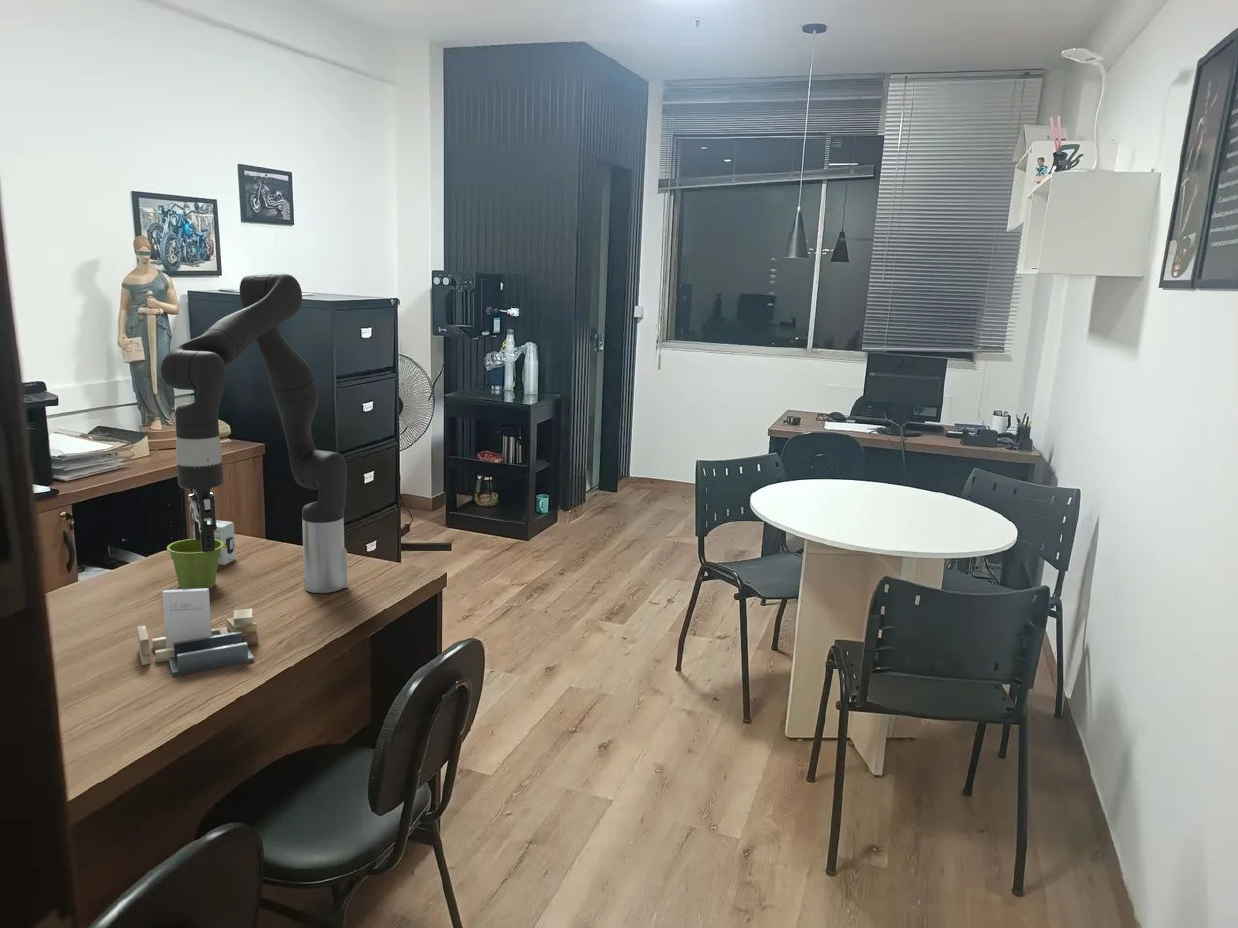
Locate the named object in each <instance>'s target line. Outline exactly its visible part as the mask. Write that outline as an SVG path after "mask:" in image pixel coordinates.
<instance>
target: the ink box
mask: <svg viewBox="0 0 1238 928" xmlns="http://www.w3.org/2000/svg"><path fill="white" fill-rule="evenodd" d="M209 524H211V523H210V521H207V525H209ZM216 526H217V528H216V530H215V531H214V539H217V540H220V541H222V542H223V543H224V545H223V547H222V548H221V552H220V556H219V560H218V565H222V566H225V565H228V564H229V563H231V562H233V561H235V560H236V543H235V541H236V539H235V538H236V537H235V523H234V522H233V521H227V520H226V521H225V520H218V519H216ZM192 530H193V532H192V533H193V539H196V538H195V531H194V524H193V525H192Z"/></svg>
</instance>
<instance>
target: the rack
mask: <svg viewBox="0 0 1238 928" xmlns="http://www.w3.org/2000/svg"><path fill="white" fill-rule="evenodd" d="M136 629H137V643H138V645H137V646H138V654H139V658H140V663H141V665H142V666H144V665H151V653H150V639H149V635H148V631H147V627H146V625H139V626H137V627H136ZM211 630H212V636H215V635H221V634H227V633H228V629H227V626H224V627H217V628H215V627H214V628H211ZM151 640H152V641H151V642H152V644H151V646H152V651H154V653H155V662H156V663H160V662H162V663H163V662H167V661H168V662H169V660H168V658H171V657H174V647H172V648H166V638H165V636H161V637H156V638H155V637H154V638H151Z"/></svg>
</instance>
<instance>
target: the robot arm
mask: <svg viewBox="0 0 1238 928" xmlns="http://www.w3.org/2000/svg"><path fill="white" fill-rule="evenodd" d="M239 299H240V303H241V305H242V309H240V310H238V311H237V310H236V311H235V312H233V313H231V314H228V315H226V316H224V317H222V318H221V319H219V320H217V321H216V322H215V323H214V324H213V325H211V326H210V327H209V328H208V329H207V330H206V331H205V332H204V333H203V334H202V335H200V336H197V337H195V338H192V339H190V340H188V341H186V342H184V343H181V344H179V345H177V346H175V347H174V348H172V349H171V350H169V352H167V354H165V356H164V358H163V360H162V361H161V364H160V375H161V378H162V380H163V382H165V384H166V385H167V386H169V387H171V388H172V389H176V390H184V391H197V395H196V397H195V400H194V401H192V402H187V403H181V404H180V405H177V407H175V408H176V409H175V413H174V419H175V420H174V421H175V434H176V442H175V443H176V445H175V456H176V471H177V484H178V487H180V488H181V489H186V490H189V495H188V501H189V511H190V514H191V518H192V520H193V525H194V531H195V538H196V540H201V550H202V551H203V552H211V551H214V550H215V539H214V531H215V530H216V528H217V526H216V520H217V519H216V518H217V513H216V497H215V495H214V494H213V492H211V489H213V488H218V487H221V486H222V485H223V483H224V469H223V468H224V467H223V453H222V452H223V449H222V443H221V438H220V427H219V425H220V424H219V411H220V405H221V402H222V396H223V392H224V388H225V384H226V381H227V368H226V367H227V366H229V365H230V364H232V363H233V362H234V361H235V360H236V359H238V358H239V356H240V355H241V354H242V353H243V352H244V351H245V350H246V349H247V348H248V347H249V346H250V345H251V344H253V343H254V342H255V341H256V344H257V346H258V349H259V352H260V355H261V358H262V362H263V364H264V367H265V370H266V374H267V378H268V381H269V385H270V389H271V393H272V396H273V400H274V402H275V405H276V408H277V411H278V413H279V417H280V421H281V424H282V429H283V433H284V437H285V441H286V445H287V452H288V456H289V457H288V458H289V463H290V467H291V468H290V469H291V472H292V475H293V478H294V481H295V482H296V483H297V485H299V486H300V487H302V488H305V489H309V490H316V491H318V495H317V496H318V497H317V501H313V502H310V503H306V504H305V505H304V506H303V507H302V509H301V517H302V518H301V519H302V520H301V522H302V523H301V524H302V550H303V551H302V553H303V557H302V558H303V582H304V583H303V584H304V585H303V586H304V587H303V588H304V590H305V591H307V592H310V593H313V594H327V593H328V594H329V593H333V592H337V591H340V590H342V589H346V588H348V587H349V586H348V551H347V548H346V547H345V530H344V529H345V527H344V525H345V523H344V519H345V518H344V513H345V507H346V503H347V482H348V481H347V479H348V471H347V470H348V469H347V463H346V459H345V458H344V456H343V455H342V454H341V453H339V452H336V451H329V450H320V449H317V447H316V446H315V443H314V439H313V435H312V422H313V420H314V417H315V415H316V411H317V408H318V405H319V392H318V388H317V384H316V380H315V377H314V374H313V370H312V368H311V366H310V365H309V364H308V363H307V361H306V360H305V359H304V358H303V357H302V356H301V355H300V354H299V353H298V351H296V350H295V349H294V348H293V347H292V346H291V345H290V343H289V342H288V341H287V340H286V339H285V337H284V336H283V334H282V333H281V331H280V329H279V326H278V325H280V324H282V323H283V322H285V321H288V320H289V319H291V318H292V317H294V316H295V315H296V314H298V312H299V310H300V309H301V306H302V303H303V292H302V287H301V285H300V283H299V281H298V279H296V277H294V276H293V275H291V274H289V273H283V272H281V273H279V272H277V273H271V272H270V273H267V272H266V273H252V274H251V273H250V274H246V275H245V276H243V277H242V278H241V280H240V283H239ZM207 521H210V523H211V524H209V525H207Z"/></svg>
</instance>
